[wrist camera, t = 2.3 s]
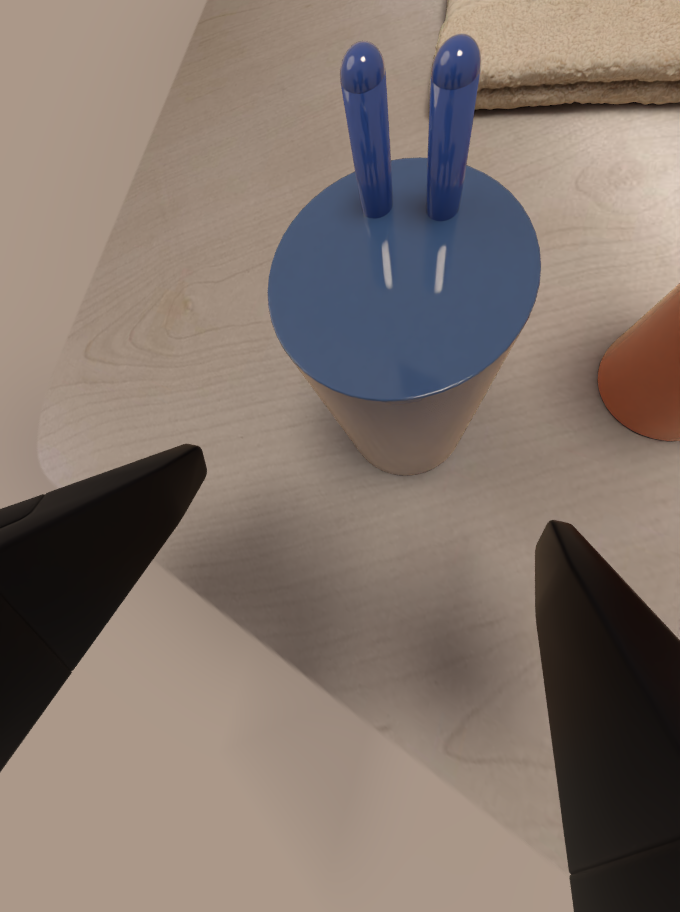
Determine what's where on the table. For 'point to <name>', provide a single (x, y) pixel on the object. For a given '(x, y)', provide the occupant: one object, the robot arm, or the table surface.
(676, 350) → the red spoon jar
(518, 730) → the table surface
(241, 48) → the table surface
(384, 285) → the blue spoon jar
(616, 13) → the washcloth
